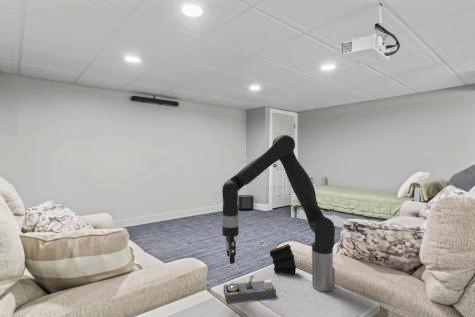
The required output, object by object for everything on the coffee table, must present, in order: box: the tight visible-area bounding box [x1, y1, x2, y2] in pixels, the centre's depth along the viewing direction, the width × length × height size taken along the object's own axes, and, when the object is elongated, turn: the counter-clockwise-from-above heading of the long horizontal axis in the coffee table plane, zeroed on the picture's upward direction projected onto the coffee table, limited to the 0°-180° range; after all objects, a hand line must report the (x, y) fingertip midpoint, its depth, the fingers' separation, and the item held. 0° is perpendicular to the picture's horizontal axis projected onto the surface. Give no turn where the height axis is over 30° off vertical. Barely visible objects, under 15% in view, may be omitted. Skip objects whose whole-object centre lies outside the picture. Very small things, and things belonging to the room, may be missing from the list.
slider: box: [263, 279, 273, 289], centre depth 117 cm, size 3×2×3 cm, turn 100°
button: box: [228, 282, 238, 293], centre depth 117 cm, size 4×4×3 cm
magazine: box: [269, 243, 297, 276], centre depth 138 cm, size 4×13×15 cm, turn 72°
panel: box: [223, 280, 277, 303], centre depth 118 cm, size 22×9×4 cm, turn 100°
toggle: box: [248, 273, 255, 284], centre depth 118 cm, size 2×2×4 cm
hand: (230, 259), depth 121 cm, fingers open, 8 cm apart
